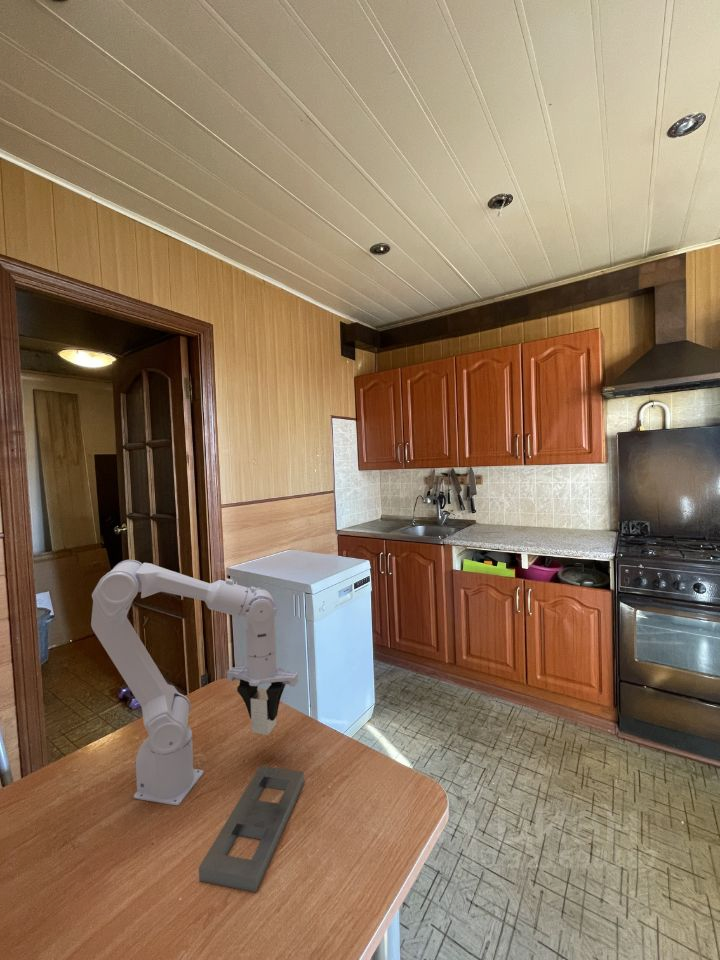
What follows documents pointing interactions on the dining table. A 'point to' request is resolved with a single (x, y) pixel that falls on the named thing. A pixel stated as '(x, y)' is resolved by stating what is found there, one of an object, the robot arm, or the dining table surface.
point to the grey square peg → (261, 713)
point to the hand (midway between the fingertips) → (263, 716)
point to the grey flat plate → (252, 830)
